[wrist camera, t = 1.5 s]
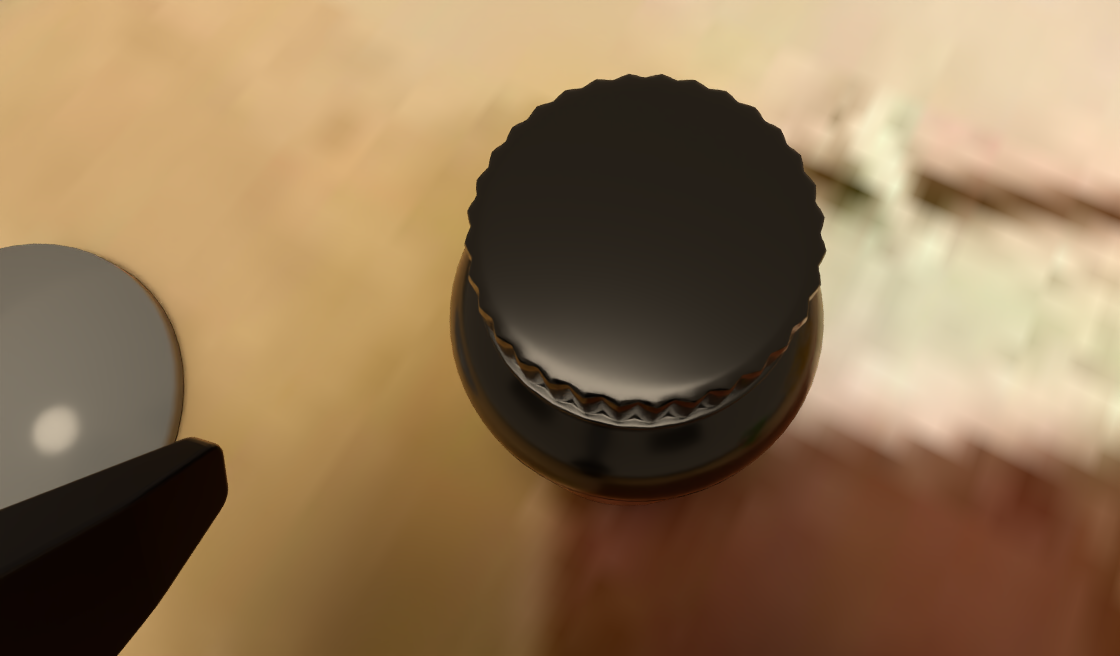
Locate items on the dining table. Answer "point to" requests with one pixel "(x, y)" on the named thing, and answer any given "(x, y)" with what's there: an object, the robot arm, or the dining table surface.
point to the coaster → (79, 369)
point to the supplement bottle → (640, 289)
